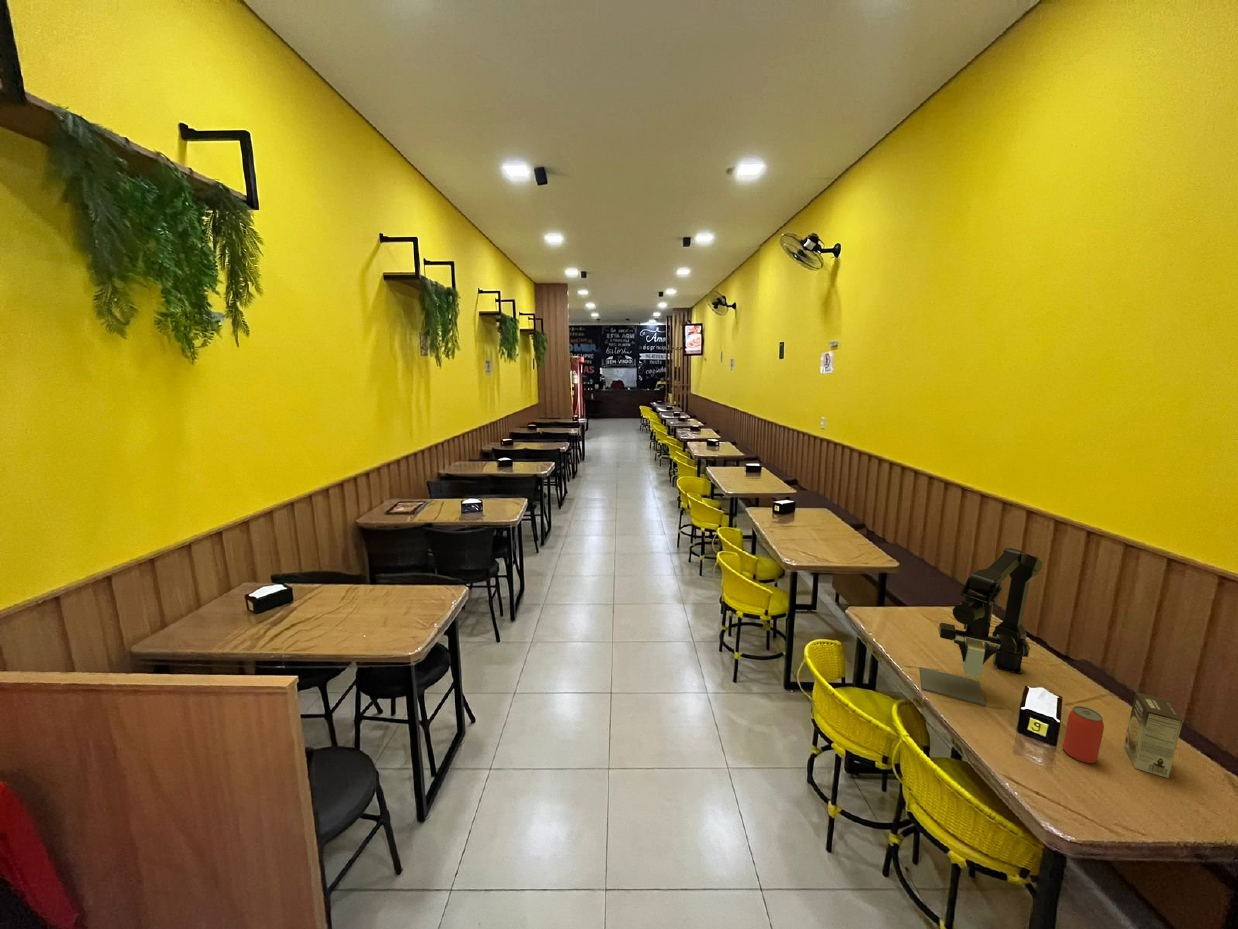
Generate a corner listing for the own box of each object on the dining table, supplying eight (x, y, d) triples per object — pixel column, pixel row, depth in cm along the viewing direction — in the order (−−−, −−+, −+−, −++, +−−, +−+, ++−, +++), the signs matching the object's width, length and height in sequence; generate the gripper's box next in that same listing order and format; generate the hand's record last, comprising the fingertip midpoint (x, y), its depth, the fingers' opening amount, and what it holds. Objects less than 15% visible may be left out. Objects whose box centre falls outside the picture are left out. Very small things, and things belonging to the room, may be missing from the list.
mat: (978, 682, 156) (978, 681, 156) (985, 706, 145) (985, 704, 145) (919, 668, 164) (919, 666, 164) (922, 689, 153) (922, 688, 152)
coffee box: (1121, 745, 130) (1134, 690, 127) (1156, 755, 127) (1169, 699, 124) (1133, 768, 123) (1147, 710, 120) (1170, 779, 119) (1185, 720, 116)
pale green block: (977, 667, 153) (981, 640, 151) (980, 677, 148) (985, 650, 146) (961, 663, 155) (965, 637, 153) (964, 673, 150) (968, 646, 148)
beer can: (1090, 750, 128) (1098, 708, 126) (1101, 768, 123) (1110, 725, 120) (1058, 742, 131) (1065, 701, 129) (1067, 759, 125) (1076, 717, 123)
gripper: (1012, 611, 151) (1004, 658, 154) (940, 598, 159) (934, 642, 162) (1021, 627, 141) (1012, 677, 144) (943, 612, 150) (937, 659, 152)
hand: (972, 663), depth 151 cm, fingers closed on pale green block, 4 cm apart
